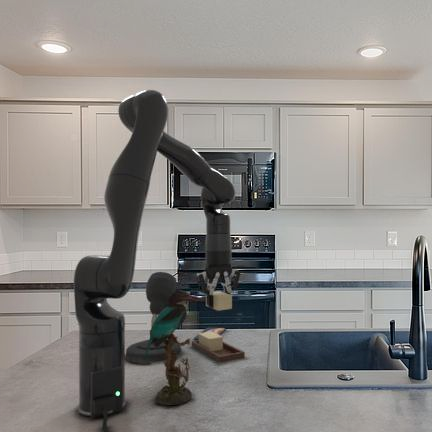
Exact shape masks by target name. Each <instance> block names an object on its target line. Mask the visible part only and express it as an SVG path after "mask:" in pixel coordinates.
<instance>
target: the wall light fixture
mask: <svg viewBox="0 0 432 432" xmlns="http://www.w3.org/2000/svg"><path fill="white" fill-rule="evenodd" d="M177 287H178V286H177V278H176V277H175V276H174V275H172V274H171V273H168V272H165V271H155V272H154V273H151V274H150V276H149V278H148V280H147V282H146V287H145V296H146V300H147V301H148V302H149V303H150V304H149V311H150V313H151V320H150V322H151V323H150V330H149V332H150V331H151V328H152V326H153V323H154V321H155V319H156V318H157V316H158V315H159V314H160V312H161V311H162V310H163V309H165V306H167V303H168V300H169V298H170V295H171V294H172V293H173V292H174V291H176V290H177ZM153 342H154V340H153ZM153 342H152V343H151V345H150V348H149V350H148V353H147V355H146V357H145V359H144V360H143V358H144V355H145V353H146V349H147V346H148V343H149V339H145V340H142V341H138V342H134V343H132V344H130V345H129V346H128V347H127V348H125V361H128V362H129V363H132V364H140V365H149V364H152V363H159V362H165V361H166V357H165V356H166V355H167V352H166V350H165V349H164V347H165V345H166V344H164V342H163V343H161V344H160V345H159V346H158V347H157V348H156V347H155V346H154V343H153ZM181 347H182V346H179V345H178V344H176V343H175V344H174V345H173V346H172V350H174V351H176V352H177V355H178V356H180V354H181V353H182V348H181Z"/></svg>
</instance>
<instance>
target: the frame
mask: <svg viewBox="0 0 432 432" xmlns="http://www.w3.org/2000/svg"><path fill="white" fill-rule="evenodd" d="M191 347H192V348H194V349H195V350H198V351H199V352H200V353H202V354H204V355H206V356H207V357H208V358H211V359H213V360H214V361H216V362H218V363H224V362H229V361H234V360H238V359H239V360H240V359H243V358H245V353H246V352H245V351H243V350H241V349H239V348H237V347H236V346H233V345H232V344H230V343H227V342H225V341H223V350H218V351H211V350H209V349H207V348H206V347H204V346H202V345H200V344H199V340H191Z"/></svg>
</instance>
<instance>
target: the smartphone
mask: <svg viewBox="0 0 432 432" xmlns="http://www.w3.org/2000/svg"><path fill="white" fill-rule="evenodd" d="M211 331H212V332H214V333H216V334H218V335H220V336H222V335H223V334H224V333H225V332H227V329H226V328H224V327H206V328H204V329H203V330H202V331H201V332H200V333H205V332H211ZM196 340H199V333H198V334H197V335H196V336H195V337H194V338H193V341H196Z"/></svg>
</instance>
